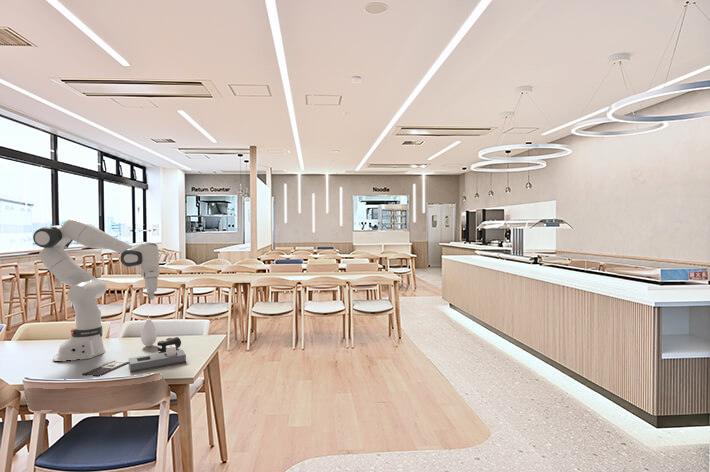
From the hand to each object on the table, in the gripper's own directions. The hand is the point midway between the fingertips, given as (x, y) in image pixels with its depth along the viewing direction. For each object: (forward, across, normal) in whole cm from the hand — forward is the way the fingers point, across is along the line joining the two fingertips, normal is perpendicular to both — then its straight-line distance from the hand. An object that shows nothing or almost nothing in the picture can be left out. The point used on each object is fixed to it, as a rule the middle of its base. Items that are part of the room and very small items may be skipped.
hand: (150, 298), depth 212 cm
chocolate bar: (+30, +16, -21) cm, 40 cm away
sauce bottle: (+29, -12, 0) cm, 32 cm away
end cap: (+29, +5, +8) cm, 31 cm away
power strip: (+29, +24, 0) cm, 38 cm away
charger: (+28, +24, +6) cm, 37 cm away
